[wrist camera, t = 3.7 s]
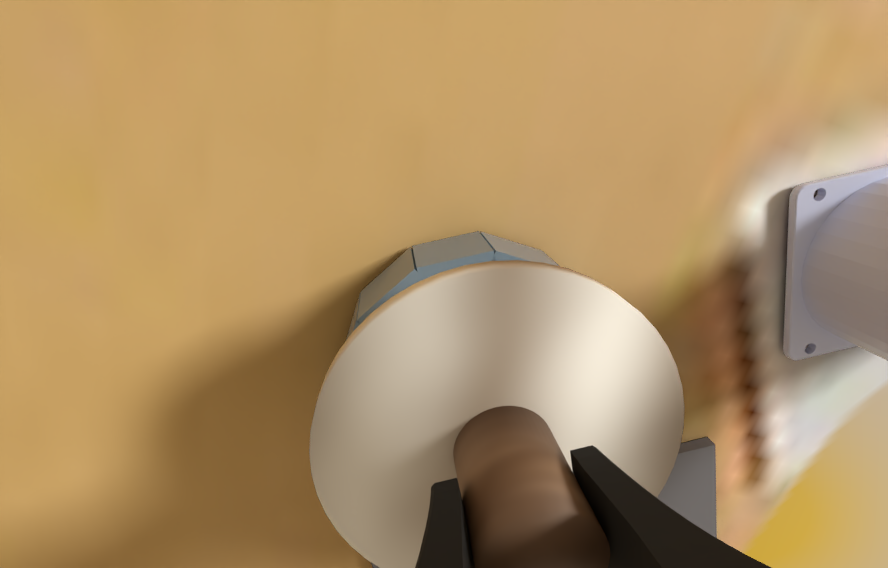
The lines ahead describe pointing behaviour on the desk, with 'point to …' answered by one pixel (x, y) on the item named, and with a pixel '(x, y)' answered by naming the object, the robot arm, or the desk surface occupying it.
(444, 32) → the desk surface
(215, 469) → the desk surface
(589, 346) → the lid
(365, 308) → the bowl
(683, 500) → the mat
